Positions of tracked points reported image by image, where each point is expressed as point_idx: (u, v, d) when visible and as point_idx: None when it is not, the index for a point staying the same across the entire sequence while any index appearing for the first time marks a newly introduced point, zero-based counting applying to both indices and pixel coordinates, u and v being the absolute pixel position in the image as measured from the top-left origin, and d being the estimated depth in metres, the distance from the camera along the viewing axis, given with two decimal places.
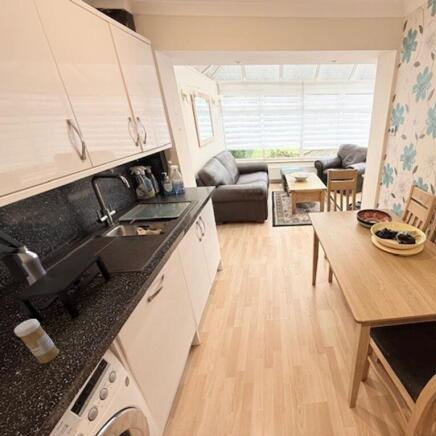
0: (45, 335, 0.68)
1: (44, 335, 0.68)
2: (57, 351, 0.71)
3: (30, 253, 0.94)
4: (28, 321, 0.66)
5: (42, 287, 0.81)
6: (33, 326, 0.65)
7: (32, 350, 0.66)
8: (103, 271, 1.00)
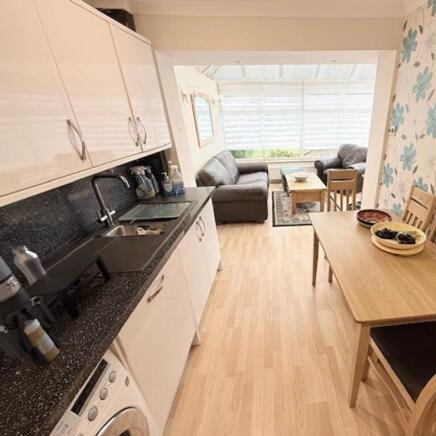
0: (45, 335, 0.68)
1: (44, 335, 0.68)
2: (57, 351, 0.71)
3: (30, 253, 0.94)
4: (28, 321, 0.66)
5: (42, 287, 0.81)
6: (33, 326, 0.65)
7: None
8: (103, 271, 1.00)
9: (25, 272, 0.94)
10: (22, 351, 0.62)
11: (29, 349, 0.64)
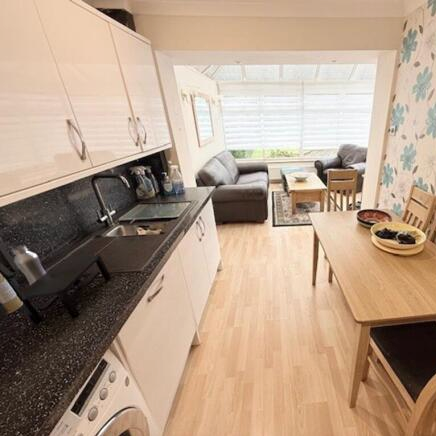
0: (5, 282, 0.60)
1: (3, 282, 0.59)
2: (20, 303, 0.63)
3: (30, 253, 0.94)
4: None
5: (42, 287, 0.81)
6: None
7: None
8: (103, 271, 1.00)
9: (25, 272, 0.94)
10: None
11: None
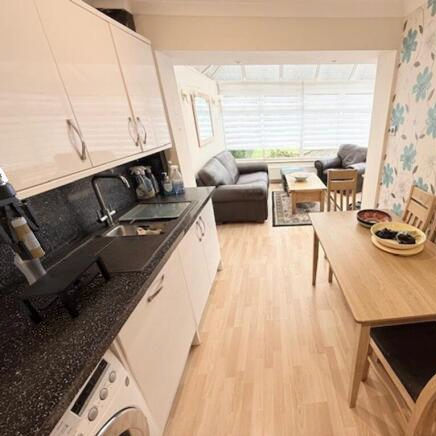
0: (31, 233, 0.74)
1: (30, 233, 0.74)
2: (43, 252, 0.77)
3: None
4: (16, 217, 0.72)
5: (42, 287, 0.81)
6: (20, 220, 0.71)
7: None
8: (103, 271, 1.00)
9: (25, 272, 0.94)
10: (8, 239, 0.68)
11: (15, 240, 0.70)
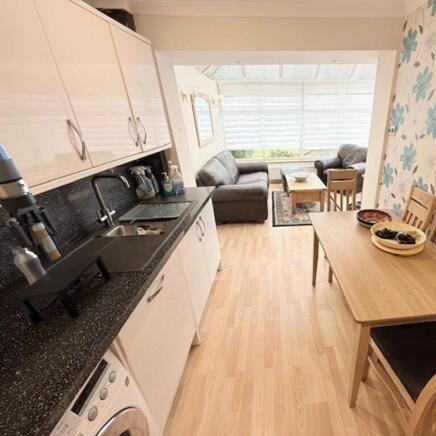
0: (49, 237, 0.82)
1: (48, 237, 0.82)
2: (59, 254, 0.85)
3: (30, 253, 0.94)
4: (35, 223, 0.80)
5: (42, 287, 0.81)
6: (39, 226, 0.79)
7: None
8: (103, 271, 1.00)
9: (25, 272, 0.94)
10: (30, 243, 0.77)
11: (36, 244, 0.78)
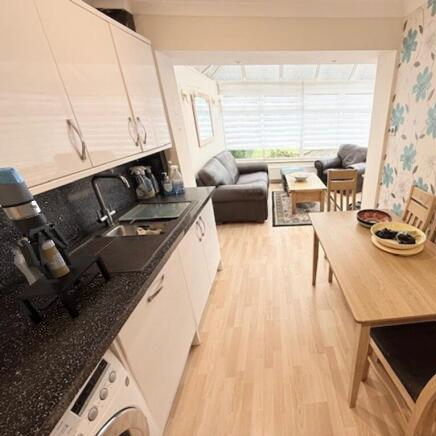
0: (58, 254, 0.85)
1: (58, 253, 0.85)
2: (68, 269, 0.88)
3: None
4: (45, 241, 0.83)
5: (42, 287, 0.81)
6: (49, 243, 0.82)
7: None
8: (103, 271, 1.00)
9: (25, 272, 0.94)
10: (37, 262, 0.78)
11: (42, 263, 0.80)
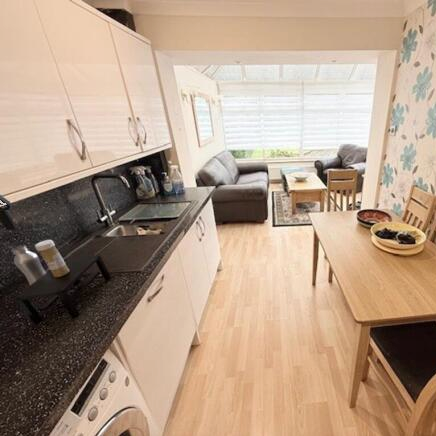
0: (58, 254, 0.85)
1: (58, 253, 0.85)
2: (68, 269, 0.88)
3: (30, 253, 0.94)
4: (45, 241, 0.83)
5: (42, 287, 0.81)
6: (49, 243, 0.82)
7: (48, 264, 0.83)
8: (103, 271, 1.00)
9: (25, 272, 0.94)
10: None
11: None
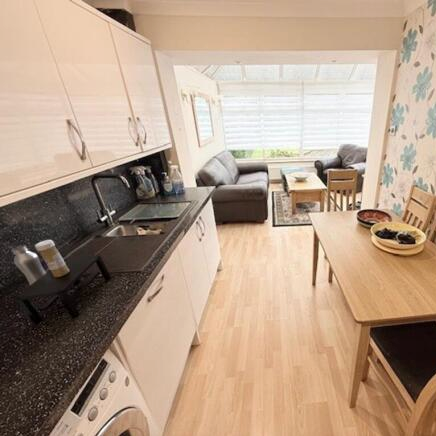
0: (58, 254, 0.85)
1: (58, 253, 0.85)
2: (68, 269, 0.88)
3: (30, 253, 0.94)
4: (45, 241, 0.83)
5: (42, 287, 0.81)
6: (49, 243, 0.82)
7: (48, 264, 0.83)
8: (103, 271, 1.00)
9: (25, 272, 0.94)
10: None
11: None
